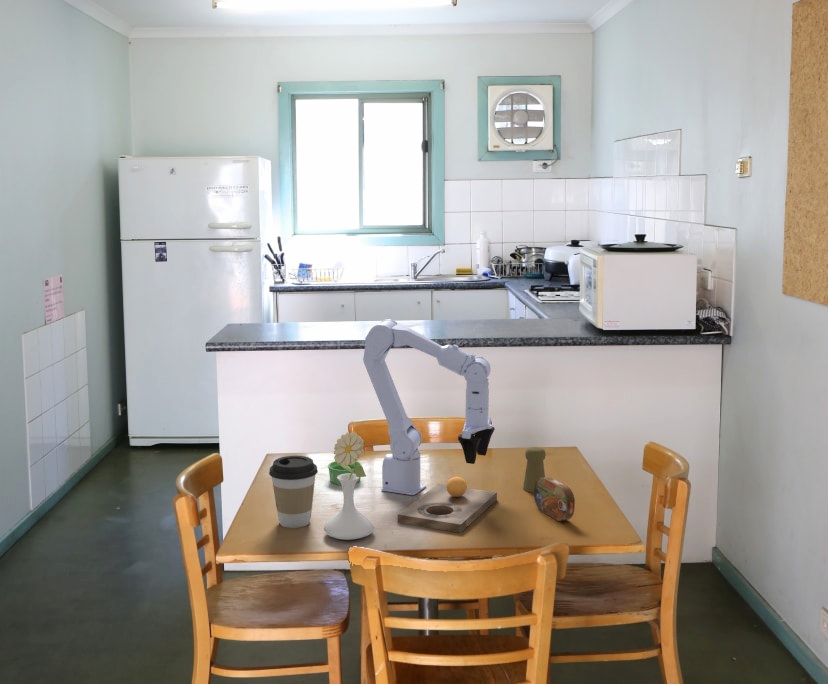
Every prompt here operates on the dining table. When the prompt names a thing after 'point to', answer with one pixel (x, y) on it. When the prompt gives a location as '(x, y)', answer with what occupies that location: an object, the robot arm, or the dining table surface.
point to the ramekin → (340, 471)
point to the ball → (456, 486)
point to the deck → (447, 508)
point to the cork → (533, 467)
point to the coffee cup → (293, 489)
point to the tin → (554, 498)
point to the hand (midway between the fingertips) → (476, 458)
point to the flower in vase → (349, 492)
